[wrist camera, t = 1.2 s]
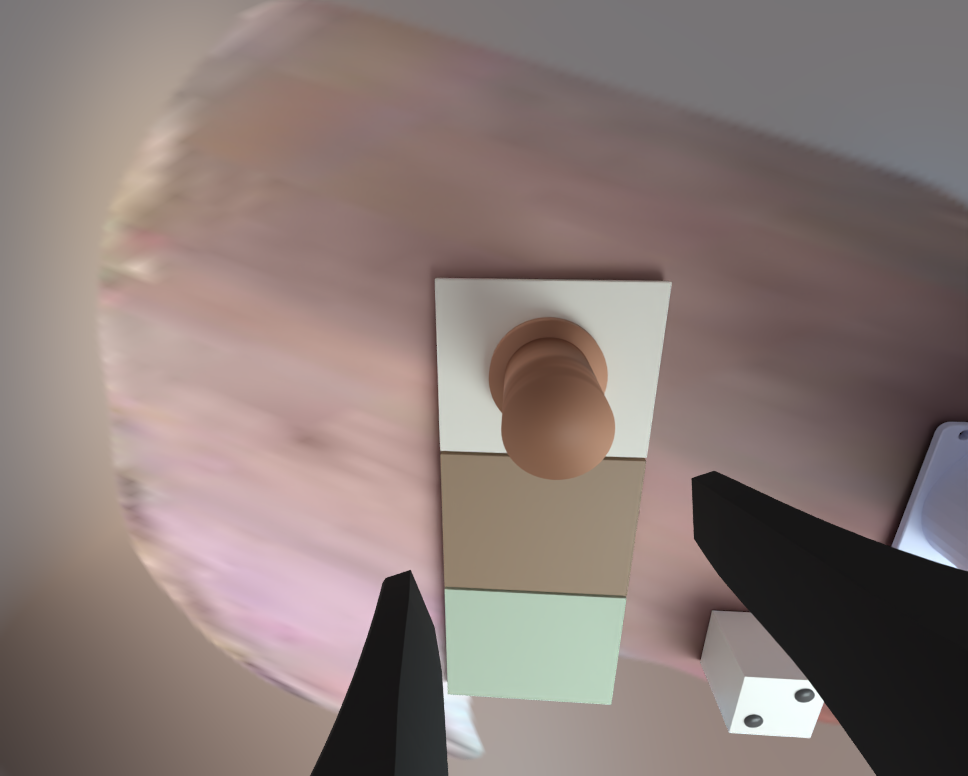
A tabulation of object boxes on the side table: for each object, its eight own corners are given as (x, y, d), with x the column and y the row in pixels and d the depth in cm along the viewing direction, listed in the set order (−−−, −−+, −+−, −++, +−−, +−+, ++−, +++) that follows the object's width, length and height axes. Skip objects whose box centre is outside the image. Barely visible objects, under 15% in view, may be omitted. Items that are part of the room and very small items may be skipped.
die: (785, 614, 26) (831, 682, 22) (769, 666, 27) (810, 738, 24) (712, 610, 26) (745, 677, 22) (700, 662, 28) (729, 733, 24)
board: (668, 280, 20) (671, 282, 20) (609, 696, 29) (611, 704, 28) (436, 277, 21) (434, 279, 20) (448, 686, 30) (447, 694, 29)
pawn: (609, 318, 20) (646, 358, 15) (598, 426, 22) (627, 499, 16) (490, 315, 21) (480, 354, 15) (489, 423, 22) (480, 494, 17)
